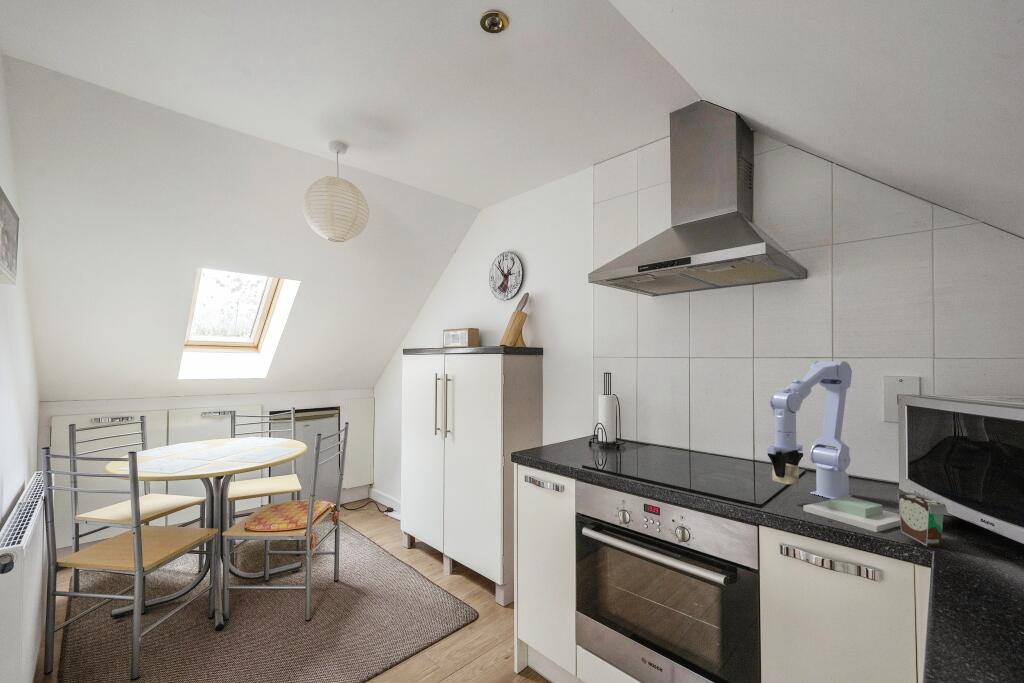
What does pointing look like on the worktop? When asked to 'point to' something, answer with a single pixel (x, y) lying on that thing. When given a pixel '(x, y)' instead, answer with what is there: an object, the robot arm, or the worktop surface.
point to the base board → (855, 520)
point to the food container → (921, 517)
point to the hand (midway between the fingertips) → (785, 476)
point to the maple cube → (787, 475)
